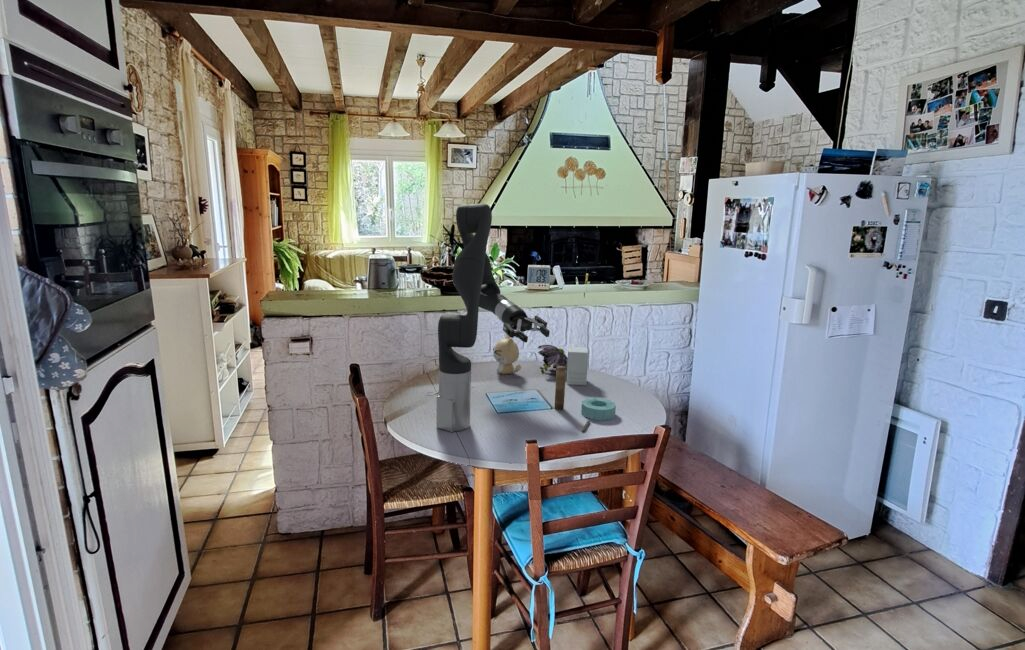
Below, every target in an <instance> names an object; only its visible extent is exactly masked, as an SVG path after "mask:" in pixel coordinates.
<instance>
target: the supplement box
mask: <svg viewBox="0 0 1025 650" xmlns="http://www.w3.org/2000/svg"><path fill="white" fill-rule="evenodd" d="M567 358H568V364H567V370H566V385H574V386H575V385H576V386H587V380H588V365H589V363H588V362H589V361H588V360H589V350H588V348H587V347H578V346H577V347H576V346H575V347H573V346H568V348H567Z"/></svg>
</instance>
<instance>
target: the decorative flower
mask: <svg viewBox="0 0 1025 650" xmlns="http://www.w3.org/2000/svg"><path fill="white" fill-rule="evenodd" d="M537 349H539V351H538V352H537V353H538V354H539V355H540V356H542V357H543V359H542V361H543V366H540V367H539V369H540V372H541V373H544V371H545V372H547V371H548V368H551V366H552V369H555V370H556V369H557V366H564V367H566V371H567V364H568V355H566V354H565V351H564V349H563V348H558V347H557V346H555V345H552V344H541V345H538V346H537ZM540 349H541V350H540Z"/></svg>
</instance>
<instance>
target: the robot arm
mask: <svg viewBox="0 0 1025 650" xmlns="http://www.w3.org/2000/svg"><path fill="white" fill-rule="evenodd" d="M492 214H493V211H492V209H491V206H490V205H488V204H487V203H467V204H466V203H465V204H459V205H458V206H457V208H456V213H455V221H456V226H457V230H458V233H459V235H460V239H461V241H462V244H463V248H462V249H461V251H459V253H458V254H457V255H456V256H455V257H456V258H455V259H454V264H453V267H452V270H453V271H452V277H451V279H452V283H453V285H454V287H455V290H456V291H457V292H458V294H459V296H460V297H461V299H462V301H463V303H464V306H465V308H466V314H465V315H463V314H450V313H449V314H442V315H441V316H440V318H439V320H438V322H437V340H438V341H437V342H438V343H437V345H438V392H439V393H438V395H437V396H436V423H435V424H436V426H435V427H436V428H437V429H441V430H444V431H447V432H449V433H454V432H459V431H463V430H467V429H468V428H470V426H471V396H472V395H471V393H472V392H471V391H472V389H471V387H472V386H471V385H472V360H470V358H469V357H466V356H464V355H462V354H459V353H458V352H456V351H455V350H454V349H453V348H462V349H463V348H465V349H467V348H472V347H474V345H475V344H476V340H477V335H478V325H479V324H478V323H479V310H480V309H479V308H481V309H483V310H486V311H488V312H491V313H492V314H494V315H495V316H496V317H497V318H498V320H499V321H501V322H502V323H503V326H502V331H503V332H504V333H505V335H506V334H507V335H508V336H509V337H510V339H511V338H512V339H513V338H517V339H519V340H520V341H522V342H524V343H525V344H526V343H528V341H529V337H528V335H527V334H526V333H525V332H526V331H527V332H528V331H532V332H539V333H541V334H542V335H543V336H544V337H546V338H549V337H550V330H549V329H548V327H547V326H548V322H547V321H545V320H544V319H542V317H540V316H539V315H534V317H533V318H531V317H529V316H528V315H527V312H525V311H524V310H523V309H522V308H521V307H520V306H518V305H517V304H516V303H514V302H513V301H512V300H510V299H508V298H507V297H506V296H504V295H503V294H501V288H500V287H499V285H498V284H497V281H496V279H495V277H494V274H493V270H492V262H491V259H490V257H489V255H488V254H487V245H488V241H489V238H490V233H491V228H492V221H493V220H492V219H493V215H492ZM472 234H474V236H473V235H472Z"/></svg>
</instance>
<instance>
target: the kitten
mask: <svg viewBox="0 0 1025 650" xmlns="http://www.w3.org/2000/svg"><path fill="white" fill-rule="evenodd" d="M492 353H493V354H492V355H493V358H494V359H495V360H496V362H497V363H499V364H498V365H497V367H496V373H497V374H498V375H499V374H503V375H509V374H510V375H511V374H512V373H513V374H516V373H517V372H519V371H521V369H522V366H521V364H517V365H516V366H515V367H514V365H513V364H514V363H515V362H517V360H518V359H519V356H520V350H519V346H518V344H517V343H516V342H515V341H514V339H513V338H510V337H509V336H508V335H507V334H506V333H505V338H502V339H499V340H498V341H497V342H496V343H495V345H494V346H493V349H492Z"/></svg>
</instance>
